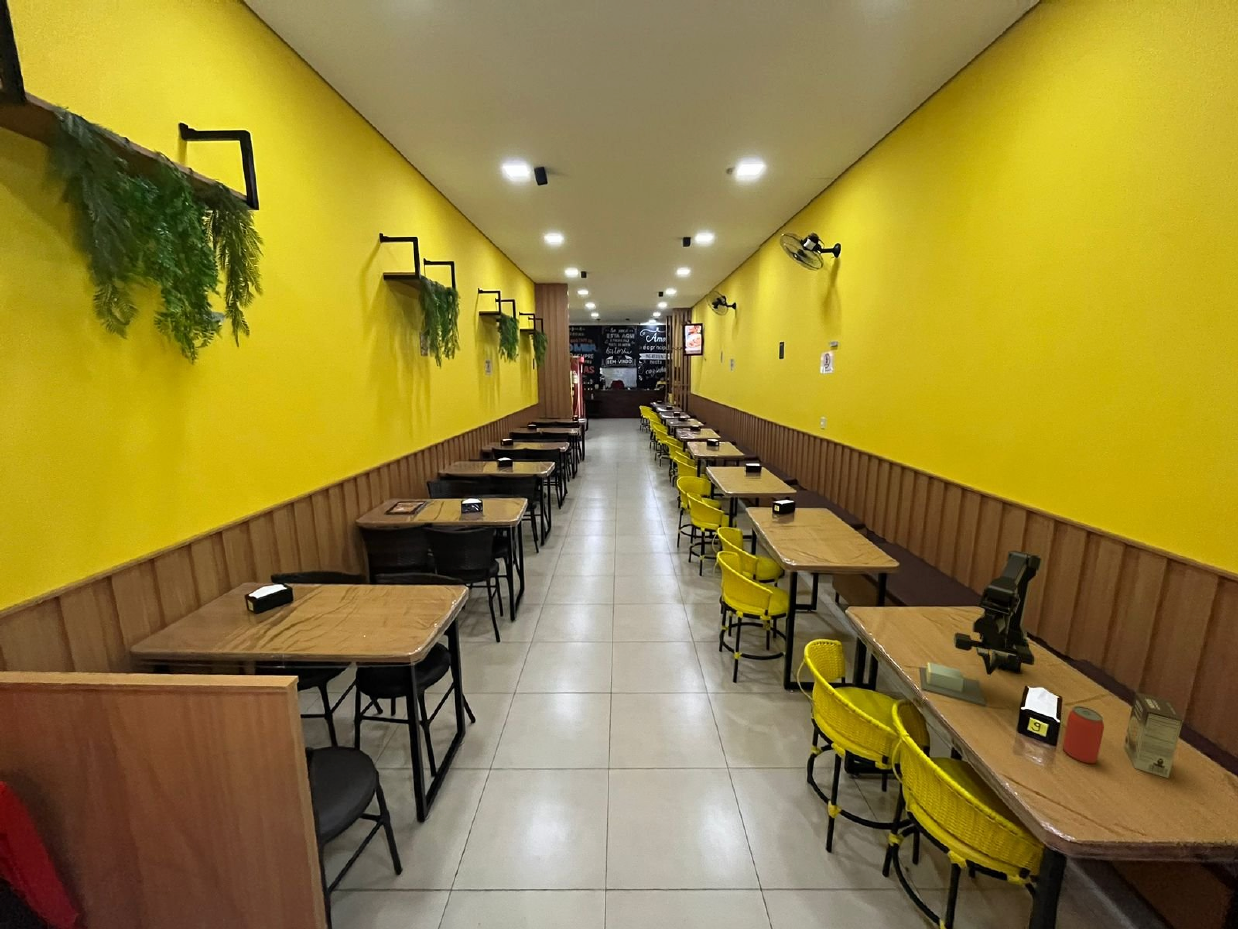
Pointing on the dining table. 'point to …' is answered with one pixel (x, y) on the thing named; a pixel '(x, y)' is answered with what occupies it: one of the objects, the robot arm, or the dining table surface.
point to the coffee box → (1152, 734)
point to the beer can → (1083, 734)
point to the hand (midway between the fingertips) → (988, 674)
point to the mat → (969, 691)
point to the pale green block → (944, 677)
